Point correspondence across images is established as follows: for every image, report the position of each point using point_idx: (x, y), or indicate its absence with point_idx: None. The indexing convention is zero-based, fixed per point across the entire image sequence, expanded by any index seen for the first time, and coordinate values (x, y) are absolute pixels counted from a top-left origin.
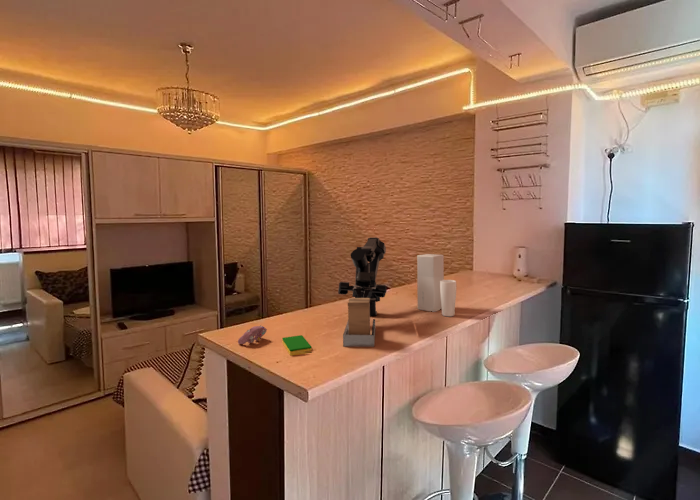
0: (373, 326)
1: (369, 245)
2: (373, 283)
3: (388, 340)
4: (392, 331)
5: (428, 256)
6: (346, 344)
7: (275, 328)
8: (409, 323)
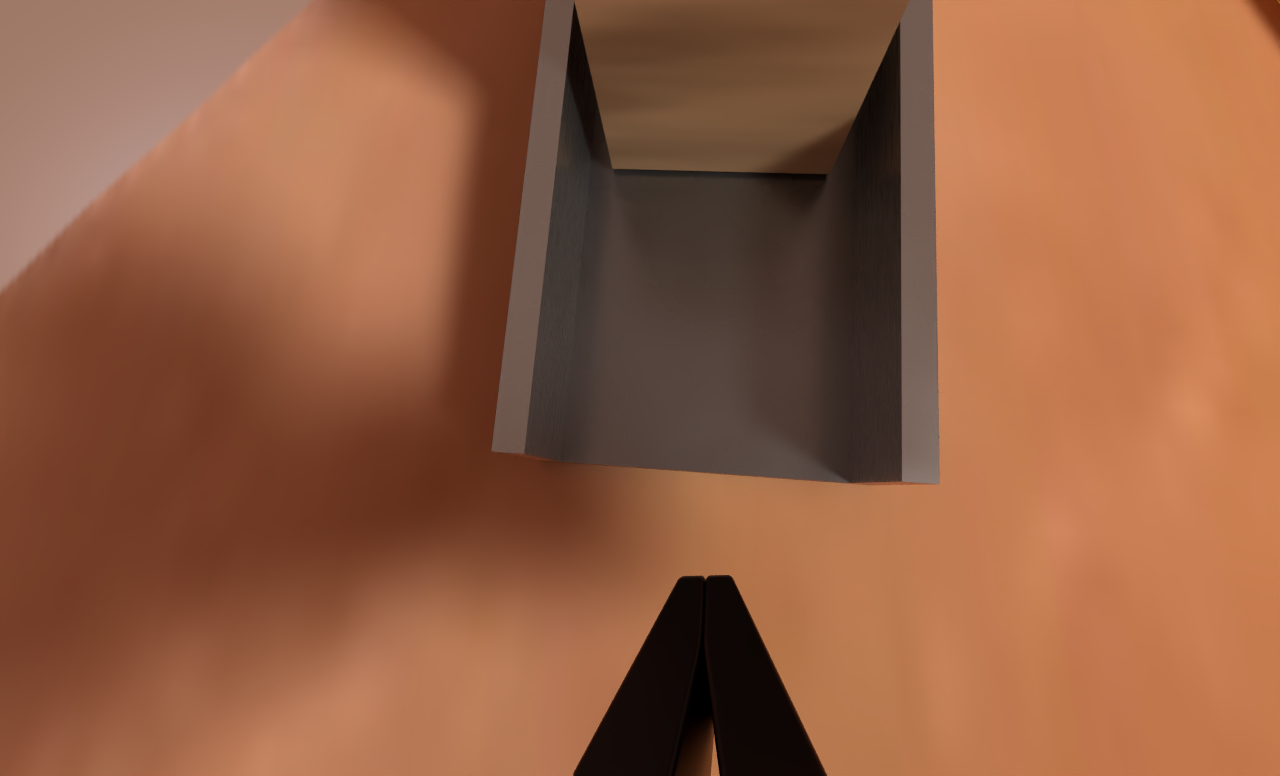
0: (550, 82)
1: None
2: None
3: (443, 141)
4: (352, 433)
5: None
6: None
7: None
8: (77, 770)
